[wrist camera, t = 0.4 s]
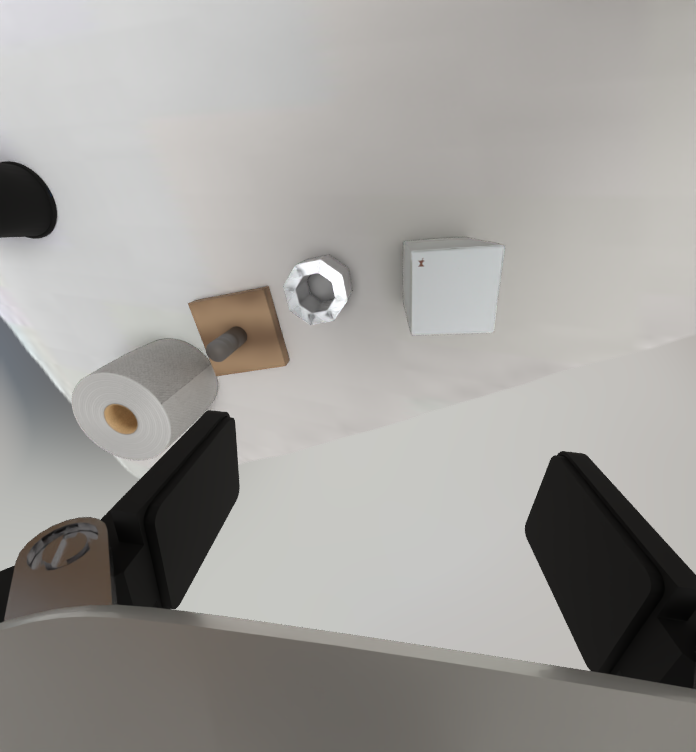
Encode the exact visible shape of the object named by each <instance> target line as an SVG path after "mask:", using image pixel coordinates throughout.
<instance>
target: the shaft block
mask: <svg viewBox="0 0 696 752" xmlns="http://www.w3.org/2000/svg"><path fill="white" fill-rule="evenodd" d="M188 305H189V307H190V310H191V313H192V315H193V318H194V320H195V323H196V326H197V328H198V331H199V333H200V336H201V339H202V341H203V344H204V346H205V349H206V353H207V355H208V357H209V360H210V362H211V365H212V367H213V370H214V373H215V375H216V376H221V375H228V374H234V373H241V372H248V371H255V370H262V369H268V368H275V367H282V366H286V365H287V363H288V362H289V356H288V353H287V349H286V346H285V342H284V339H283V335H282V332H281V328H280V325H279V321H278V318H277V314H276V311H275V307H274V304H273V300H272V296H271V293H270V289H269V286H267V287H262V288H257V289H251V290H246V291H241V292H236V293H231V294H226V295H220V296H215V297H210V298H205V299H200V300H195V301H193V302H191V303H188Z"/></svg>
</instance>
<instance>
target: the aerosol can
mask: <svg viewBox="0 0 696 752" xmlns="http://www.w3.org/2000/svg"><path fill="white" fill-rule="evenodd" d="M55 223H56V207H55V203H54V200H53V197H52V195H51V193H50V191H49V189H48V188H47V186H46V185H45V183H44V182H43V181H42V180H41V178H40V177H39V176H38V175H37V174H36V173H34V172H33V171H32V170H31V169H29V168H27V167H26V166H24V165H21V164H19V163H16V162H10V161H8V162H1V163H0V238H1V237H28V238H42V237H45V236H47V235H48V234H49V233H50V232H51V231H52V230H53V228H54V226H55Z"/></svg>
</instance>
